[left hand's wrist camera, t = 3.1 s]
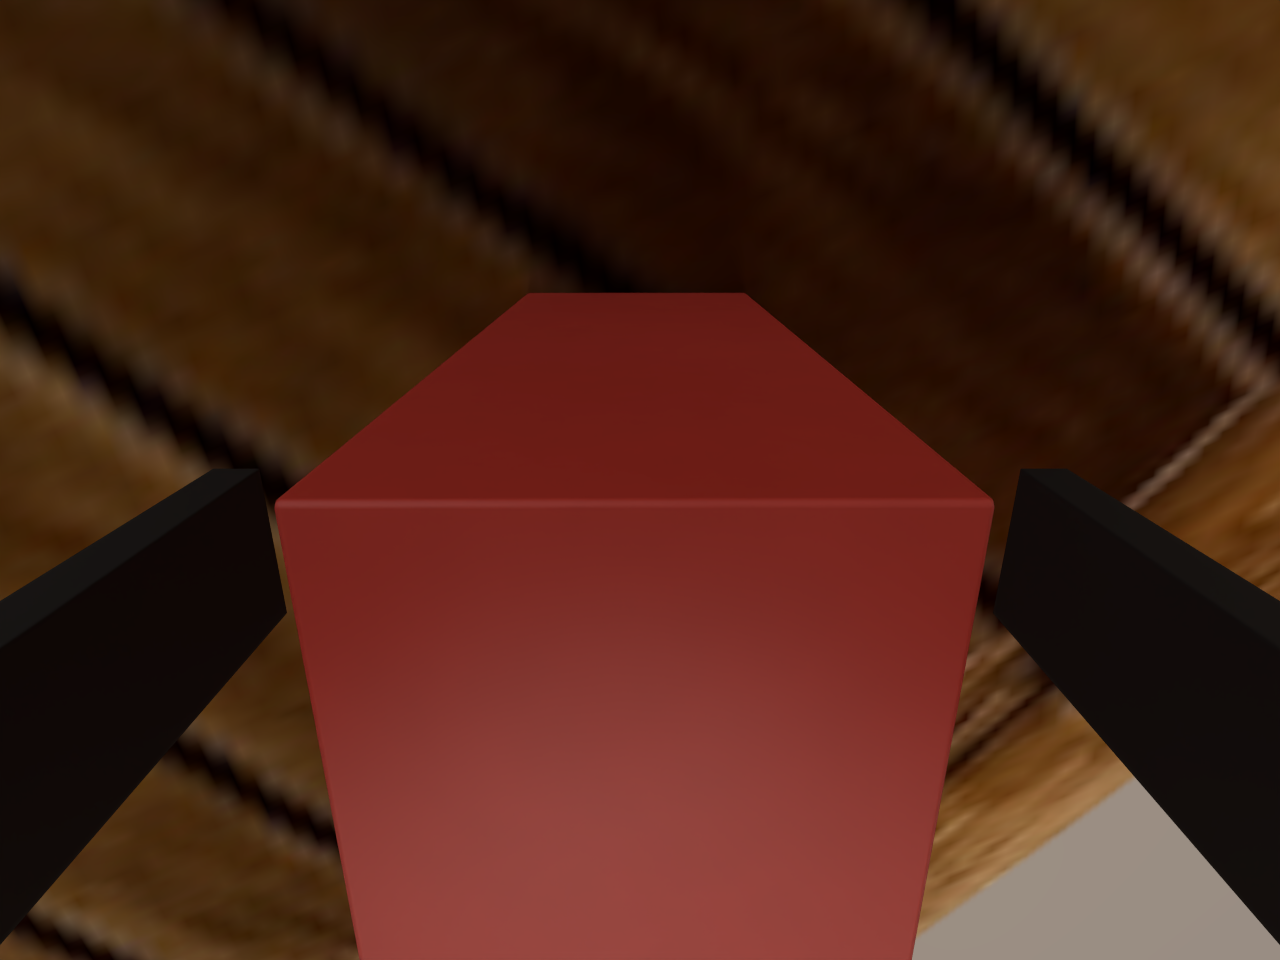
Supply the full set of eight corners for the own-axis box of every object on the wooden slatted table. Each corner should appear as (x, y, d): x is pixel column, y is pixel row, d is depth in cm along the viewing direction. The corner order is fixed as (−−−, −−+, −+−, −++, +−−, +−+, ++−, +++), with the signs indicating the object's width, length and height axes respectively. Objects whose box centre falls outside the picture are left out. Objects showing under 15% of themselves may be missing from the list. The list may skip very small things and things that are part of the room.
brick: (731, 587, 18) (875, 1171, 7) (542, 587, 18) (397, 1174, 7) (745, 292, 16) (1000, 500, 5) (526, 292, 16) (268, 501, 5)
